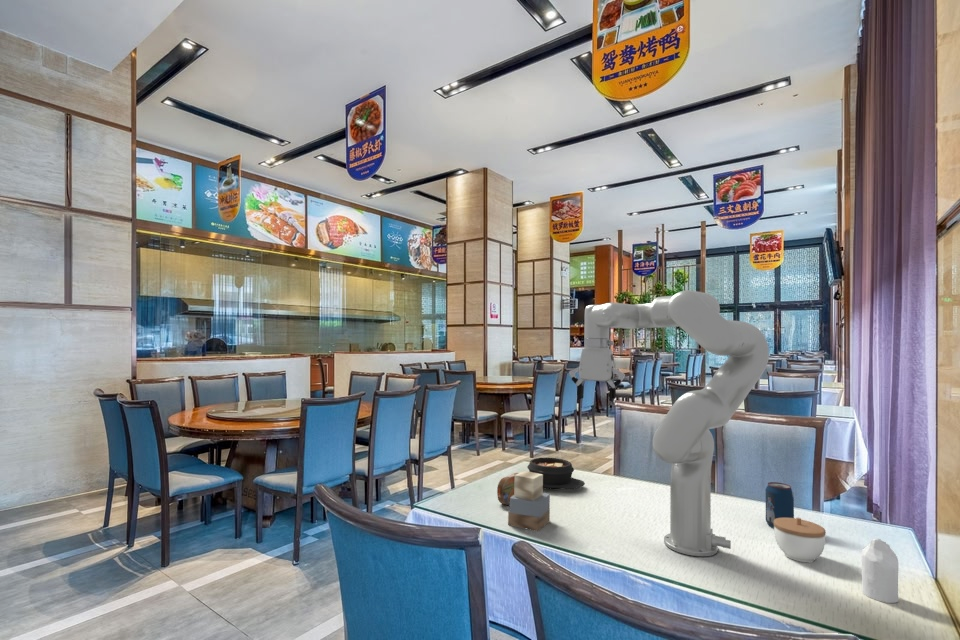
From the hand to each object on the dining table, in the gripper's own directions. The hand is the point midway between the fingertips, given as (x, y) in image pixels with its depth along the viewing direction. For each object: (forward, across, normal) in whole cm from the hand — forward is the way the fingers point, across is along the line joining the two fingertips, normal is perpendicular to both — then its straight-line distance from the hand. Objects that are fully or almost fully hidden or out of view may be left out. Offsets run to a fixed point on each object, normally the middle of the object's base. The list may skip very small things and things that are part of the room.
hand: (596, 399), depth 149 cm
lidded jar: (+35, -52, +4) cm, 63 cm away
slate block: (+31, +14, +19) cm, 39 cm away
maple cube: (+27, +14, +19) cm, 36 cm away
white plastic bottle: (+34, -65, +18) cm, 76 cm away
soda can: (+34, -49, -17) cm, 62 cm away
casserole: (+35, +22, -20) cm, 46 cm away
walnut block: (+35, +14, +19) cm, 42 cm away
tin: (+35, +26, +4) cm, 43 cm away
